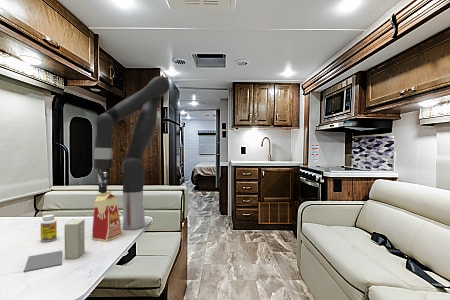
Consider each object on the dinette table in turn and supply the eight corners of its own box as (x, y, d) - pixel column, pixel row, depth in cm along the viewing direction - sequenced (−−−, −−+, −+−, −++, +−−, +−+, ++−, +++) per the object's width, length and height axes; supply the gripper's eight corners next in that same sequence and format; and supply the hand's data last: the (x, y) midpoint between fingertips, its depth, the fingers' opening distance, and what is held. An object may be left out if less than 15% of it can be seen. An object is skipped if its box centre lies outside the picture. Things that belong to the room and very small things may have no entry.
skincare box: (72, 252, 98) (72, 219, 98) (85, 251, 99) (85, 218, 99) (64, 259, 92) (63, 224, 92) (77, 258, 92) (77, 223, 92)
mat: (62, 251, 99) (62, 250, 99) (61, 264, 88) (61, 263, 88) (28, 257, 94) (28, 256, 94) (23, 272, 83) (23, 270, 83)
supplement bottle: (40, 243, 108) (40, 218, 107) (40, 239, 112) (40, 215, 112) (56, 240, 111) (56, 216, 111) (56, 237, 115) (56, 213, 115)
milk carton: (122, 235, 117) (122, 189, 117) (107, 242, 108) (106, 192, 108) (105, 233, 120) (105, 188, 120) (89, 239, 111) (88, 191, 111)
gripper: (114, 158, 117) (114, 195, 117) (109, 157, 130) (109, 191, 129) (96, 158, 114) (95, 196, 113) (92, 157, 126) (91, 192, 126)
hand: (102, 193), depth 121 cm, fingers open, 8 cm apart
